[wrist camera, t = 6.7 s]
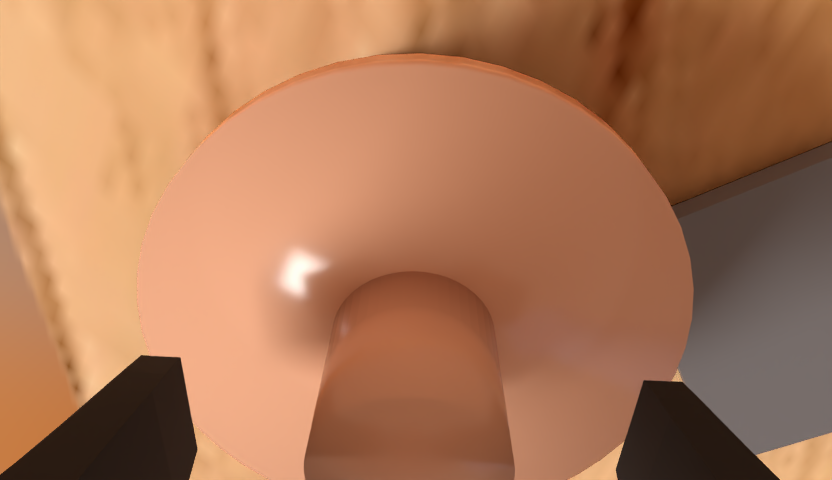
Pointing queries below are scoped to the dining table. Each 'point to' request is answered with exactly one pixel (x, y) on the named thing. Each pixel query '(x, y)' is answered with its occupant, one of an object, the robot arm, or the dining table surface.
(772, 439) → the mat
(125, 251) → the dining table surface
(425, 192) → the lid
